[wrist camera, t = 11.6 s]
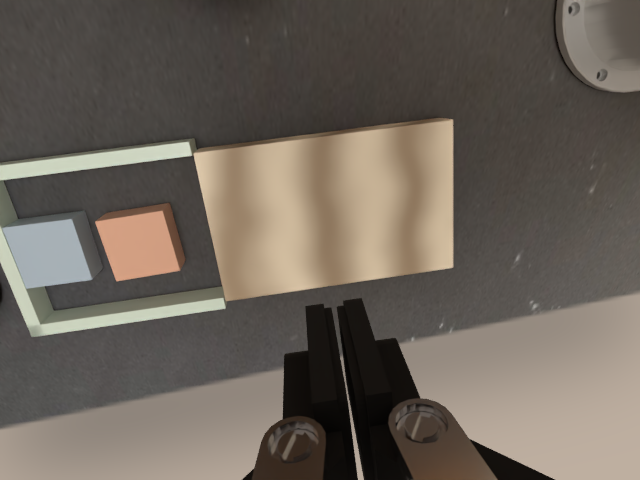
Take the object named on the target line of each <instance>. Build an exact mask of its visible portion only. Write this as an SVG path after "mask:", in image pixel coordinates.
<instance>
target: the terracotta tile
mask: <svg viewBox="0 0 640 480" xmlns="http://www.w3.org/2000/svg"><path fill="white" fill-rule="evenodd" d="M95 223H96V226H97V228H98V231H99V234H100V237H101V240H102V242H103V245H104V248H105V251H106V254H107V257H108V259H109V262H110V265H111V268H112V271H113V273H114V276H115V279H116V281H121V280H127V279H133V278H139V277H145V276H151V275H157V274H163V273H169V272H175V271H180V270H181V268H182V266H183V264H184V262H185V260H186V259H185V256H184V252H183V249H182V245H181V241H180V238H179V234H178V231H177V227H176V224H175V220H174V216H173V213H172V209H171V206H170V203H165V204H159V205H152V206H146V207H140V208H134V209H128V210H121V211H115V212H109V213H106V214H104V215H103V216H102V217H100V218H99V219H98V220H97V221H95Z"/></svg>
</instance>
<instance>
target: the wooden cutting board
mask: <svg viewBox="0 0 640 480" xmlns="http://www.w3.org/2000/svg"><path fill="white" fill-rule="evenodd" d="M193 154H194V159H195V163H196V168H197V172H198V177H199V181H200V186H201V191H202V195H203V200H204V204H205V209H206V213H207V218H208V222H209V227H210V232H211V236H212V241H213V245H214V250H215V254H216V259H217V263H218V268H219V273H220V277H221V282H222V286H223V291H224V295H225V300H226V301H231V300H238V299H245V298H251V297H258V296H265V295H272V294H279V293H285V292H292V291H299V290H306V289H312V288H319V287H326V286H333V285H339V284H346V283H353V282H360V281H367V280H373V279H380V278H387V277H394V276H400V275H407V274H414V273H421V272H428V271H434V270H441V269H448V268H453V120H451V119H446V118H441V117H440V118H433V119H425V120H417V121H409V122H401V123H394V124H386V125H378V126H370V127H362V128H355V129H347V130H339V131H331V132H323V133H315V134H308V135H300V136H292V137H284V138H276V139H269V140H261V141H253V142H245V143H237V144H230V145H222V146H214V147H206V148H199V149H198V150H197V151H195V152H194V153H193Z"/></svg>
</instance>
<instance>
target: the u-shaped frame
mask: <svg viewBox="0 0 640 480" xmlns="http://www.w3.org/2000/svg"><path fill="white" fill-rule="evenodd" d="M195 151H197V148H196V143H195V138H191V139H183V140H176V141H168V142H160V143H152V144H144V145H136V146H128V147H120V148H112V149H104V150H97V151H89V152H81V153H73V154H65V155H57V156H49V157H41V158H33V159H25V160H18V161H10V162H2V163H0V263H1V265H2V267H3V270H4V272H5V274H6V277H7V279H8V282H9V284H10V286H11V289H12V291H13V293H14V296H15V298H16V301H17V303H18V305H19V308H20V310H21V312H22V315H23V317H24V320H25V322H26V324H27V327H28V329H29V331H30V334H31V336H32V337H37V336H43V335H50V334H57V333H63V332H70V331H77V330H84V329H90V328H97V327H104V326H111V325H117V324H124V323H131V322H137V321H144V320H151V319H158V318H164V317H171V316H178V315H185V314H191V313H198V312H205V311H212V310H218V309H225V308H226V305H227V301H226V300H225V295H224V291H223V286H221V287H214V288H207V289H201V290H194V291H187V292H180V293H173V294H166V295H159V296H152V297H146V298H139V299H132V300H125V301H118V302H111V303H104V304H98V305H91V306H84V307H77V308H70V309H63V310H56V311H54V310H53V307H52V304H51V302H50V299H49V297H48V294H47V292H46V289H45V286H42V287H35V288H28V289H26V287H25V284H24V282H23V279H22V277H21V274H20V272H19V269H18V267H17V264H16V262H15V259H14V257H13V254H12V252H11V249H10V247H9V244H8V242H7V239H6V237H5V234H4V232H3V229H2V228H3V227H5V226H7V225H9V224H10V223H12V222H14V221H16V220H18V217H17V214H16V212H15V209H14V207H13V204H12V202H11V199H10V196H9V194H8V191H7V189H6V186H5V184H4V181H3V180H7V179H15V178H23V177H31V176H39V175H46V174H54V173H62V172H70V171H77V170H85V169H93V168H101V167H108V166H116V165H124V164H132V163H139V162H147V161H155V160H163V159H171V158H178V157H186V156H192V155H193V153H194V152H195Z"/></svg>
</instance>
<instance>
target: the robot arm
mask: <svg viewBox="0 0 640 480" xmlns="http://www.w3.org/2000/svg"><path fill="white" fill-rule="evenodd" d="M568 10H569V12H568ZM555 19H556V36H557V40H558V44H559V49H560V52H561V54H562V56H563V58H564V60H565V63H566V64H567V66H568V67H569V68H570V70H571V71H572V72H573V74H574V75H575V76H576V77H577V78H579V79H580V80H581V81H582V82H584V83H585V84H587V85H589V86H591V87H593V88H595V89H597V90H602V91H607V92H633V91H640V0H557V7H556V16H555ZM343 304H344V306H338V307H337V312H338V319H339V327H340V335H341V343H342V351H343V359H344V367H345V374H346V382H347V387H348V394H349V400H350V405H351V411H352V416H353V422H354V427H355V433H356V438H357V443H358V449H359V454H360V460H361V465H362V471H363V476H364V480H554V479H552V478H550V477H548V476H546V475H544V474H542V473H539V472H538V471H536V470H533V469H531V468H529V467H527V466H525V465H523V464H521V463H519V462H517V461H514V460H512V459H510V458H508V457H506V456H504V455H502V454H500V453H498V452H495V451H493V450H491V449H489V448H487V447H485V446H483V445H480V444H479V443H477V442H475V441H472V440H470V439H469V438H468V437H467V435H466V434H465V432H464V431H463V429H462V428H461V427H460V425H459V424H458V422H457V421H456V419H455V418H454V417H453V415H452V414H451V413H450V412H449V411H448V410H447V409H446V408H445V407H444V406H442V405H441V404H439V403H437V402H435V401H431V400H428V399H420V396H419V394H418V391H417V389H416V386H415V384H414V382H413V379H412V376H411V375H410V371H409V369H408V366H407V364H406V362H405V359H404V357H403V354H402V352H401V349H400V347H399V344H398V342H397V340H396V338H391V339H384V340H377V341H375V339H374V335H373V332H372V329H371V326H370V323H369V320H368V317H367V314H366V311H365V307H364V304H363V301H362V298H359V299H352V300H345V301H343ZM306 322H307V337H308V351H301V352H294V353H287V354H285V356H284V392H283V394H284V395H283V420H280V421H278V422H277V423H276V424H274V425H273V426H271V427H270V428H269V430H268V431H267V432H266V433H265V435H264V437H263V439H262V442H261V445H260V449H259V453H258V457H257V461H256V464H255V468H254V469H253V470H252V471H251V472H250V473H249V474H248V475H247V476H246V477H245V478H243V480H358V478H357V470H356V462H355V454H354V447H353V439H352V432H351V423H350V415H349V408H348V401H347V394H346V388H345V382H344V377H343V371H342V366H341V360H340V354H339V348H338V343H337V337H336V331H335V326H334V320H333V314H332V309H331V308H324V304H317V305H310V306H306Z"/></svg>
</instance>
